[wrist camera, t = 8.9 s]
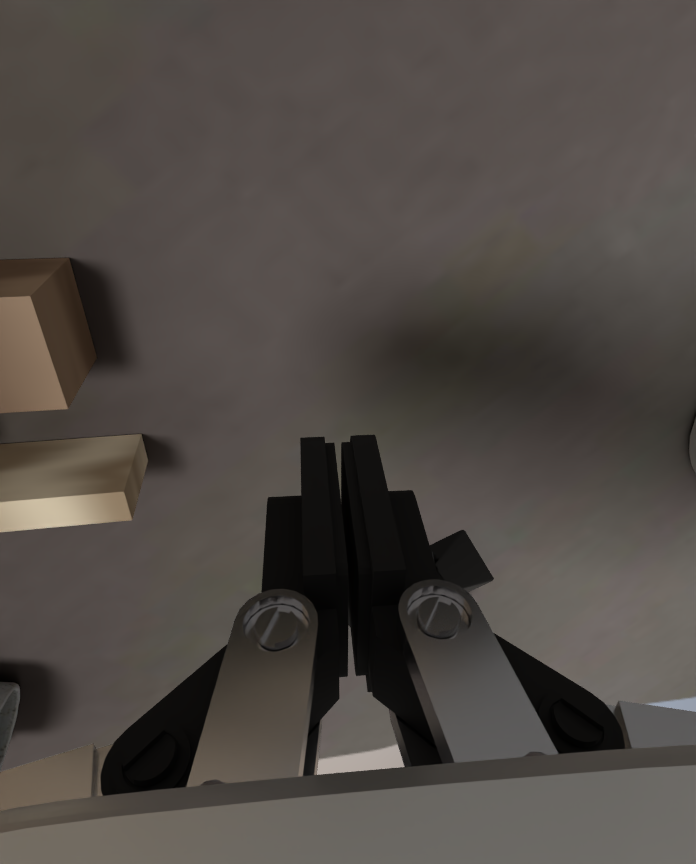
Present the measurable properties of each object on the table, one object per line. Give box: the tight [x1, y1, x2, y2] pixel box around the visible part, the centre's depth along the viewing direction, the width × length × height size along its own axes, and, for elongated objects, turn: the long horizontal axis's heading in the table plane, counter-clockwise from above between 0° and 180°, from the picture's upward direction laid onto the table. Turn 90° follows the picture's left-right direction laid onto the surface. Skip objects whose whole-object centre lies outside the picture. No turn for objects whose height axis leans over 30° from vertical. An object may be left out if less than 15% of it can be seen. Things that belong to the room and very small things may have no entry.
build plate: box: [348, 530, 494, 627], centre depth 32 cm, size 12×7×5 cm, turn 119°
